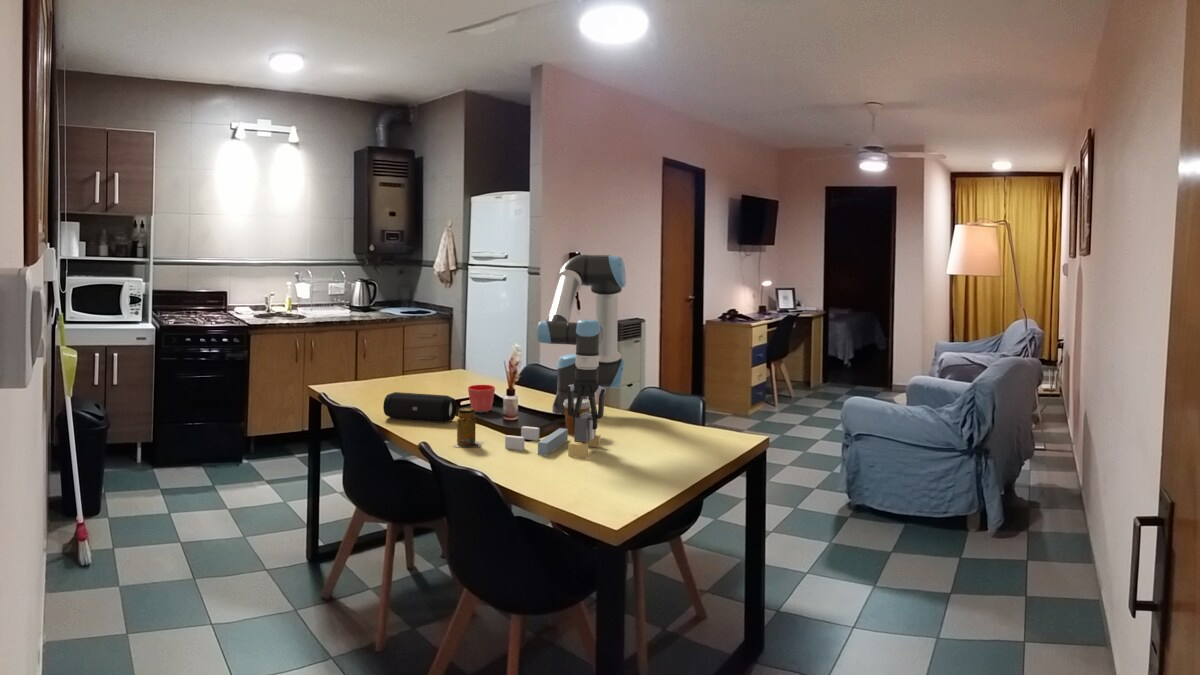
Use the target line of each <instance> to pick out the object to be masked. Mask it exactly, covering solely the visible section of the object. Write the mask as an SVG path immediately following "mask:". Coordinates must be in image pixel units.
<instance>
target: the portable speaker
mask: <svg viewBox="0 0 1200 675" xmlns="http://www.w3.org/2000/svg"><path fill="white" fill-rule="evenodd" d="M457 407H458V406H457V400H456V399H455V398H454V397H451V396H449V395H445V394H443V395H442V394H427V393H413V392H400V391H399V392H398V391H395V392H392V393H388V394H387V395H386V396H385V398H384V400H383V413H384V415H385V416H386V417H388V418H391V419H392V420H393V419H394V420H403V421H418V422H428V423H429V422H431V423H448V422H451V421H453V420H454V419H455V417H456V414H457V409H458V408H457Z"/></svg>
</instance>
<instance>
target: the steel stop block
mask: <svg viewBox="0 0 1200 675" xmlns="http://www.w3.org/2000/svg"><path fill="white" fill-rule="evenodd" d="M591 419H592V414H591V411H590V412H583V413H582V414H580V415H579V416H577V417H575V435H573V436H574V437H573V438H574V439H573V442H574V443H587V442H589V441H590V440H589V439H590V420H591ZM596 431H597V429H596V430H594V437H595V436H596V434H597V433H596Z"/></svg>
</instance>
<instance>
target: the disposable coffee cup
mask: <svg viewBox="0 0 1200 675" xmlns="http://www.w3.org/2000/svg"><path fill="white" fill-rule="evenodd" d="M576 401H577V398H574V410H575V406H576ZM563 405H564V408H565V415H564V416H565V425H566V426H565V429H568V436H574V435H575V427H574V426H573V417H572V416H569V415H568V399H565V400H564V403H563ZM589 406H590V402H589V399H588V400H587V399H583V400H582V404H581V408H580V413H579V415H580V414H582V413H583V412H588V407H589Z"/></svg>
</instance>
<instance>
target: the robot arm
mask: <svg viewBox="0 0 1200 675" xmlns="http://www.w3.org/2000/svg"><path fill="white" fill-rule="evenodd" d="M625 267H626V266H625V262H624V260H623V258H622V257H621V256H619V255H618V256H617V255H612V254H607V255H605V254H603V255H602V254H601V255H600V254H580V255H579V254H578V255H576V256H573V257H572V258H570V259H569V260H567V261H566V262H565V263H564V264H563V265H562V266H561V267H560V268H559V270H558V271H557V274H556V278H555V284H556V287H555V291H554V294H553V297H552V301H551V304H550V308H549V312H548V315H547V317H546V320H541V321H538V323H537V326H536V339H537V342H539V343H540V344H549V345H571V346H574V345H575V353H569V354H565V355H561V356H560V357H559V358H558V360H557V367H556V368H557V387H556V388H557V389H556V395H555V398H554V400H553V404H552V409H551V411H552V412H553V413H554V412H555V413H554V414H557V413H561V414H565V408H564V405H563V403H564V400H565V399H568V415H569V416H572V417H573V426H574V427H575V417H577V416H579V413H580V408H581V404H582V400H583V399H587V400H588V401H589V404H590V406H589V407H588V412H591V414H592V419H591V420H590V439H589V440H592V439H594V430H596V431H597V429H598V421H599V420H600V419H602V418H604V412H605V411H604V410H605V395H606V393H607V390H608V389H618V388H620V387H621V386H622V383H623V376H624V370H625V364H626V363H625V362H626V360H625V359H623V358H622V354H621V353H620V352H619V351H618V313H619V312H618V304H619V303H618V298H619V297H618V296H619V295H620V293H622V291H623V290H622V289H623V288H625V287H626V283H627V281H626V280H627V279H626V277H627V276H626V275H627V274H626V268H625ZM582 286H586V287H587V286H588V287H590V292H592V293H593V294H594V302H595V304H594V305H595V306H594V307H595V308H594V310H595V314H594V317H595V318H594V319H579V320H577V322H575V321H574V322H571V321H570V318H571V315H572V311H573V308H574V307H573V306H574V303H575V300H576V295H577V291H578V290H579V289H580V288H581V287H582ZM597 391H598V394H599V395H598V405H597V402H596V394H595V393H596V392H597ZM574 398H577V401H576V406H575V410H574ZM561 414H560V415H561Z"/></svg>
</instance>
